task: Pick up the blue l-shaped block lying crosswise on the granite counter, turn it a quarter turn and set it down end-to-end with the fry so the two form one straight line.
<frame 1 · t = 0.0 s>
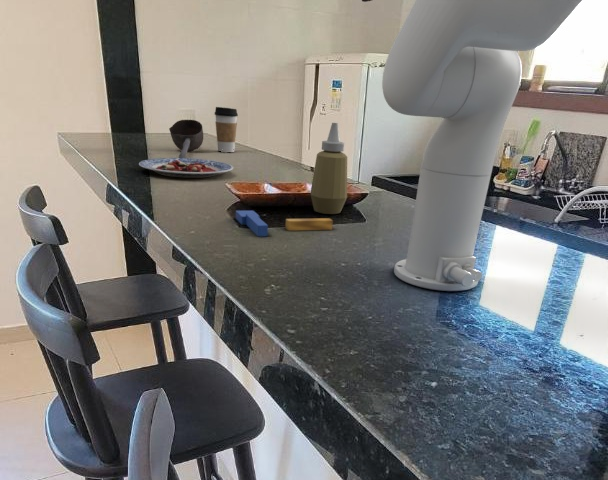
hand: (395, 4, 83), 37 cm above the counter, tool pointing down, fingers open, 9 cm apart
fry: (308, 229, 102), on the counter
blue l-shaped block: (253, 227, 100), on the counter
squeeze bottle: (327, 212, 117), on the counter
ceramic plate: (187, 173, 150), on the counter
coffee cup: (226, 152, 197), on the counter
ladle: (185, 156, 180), on the counter
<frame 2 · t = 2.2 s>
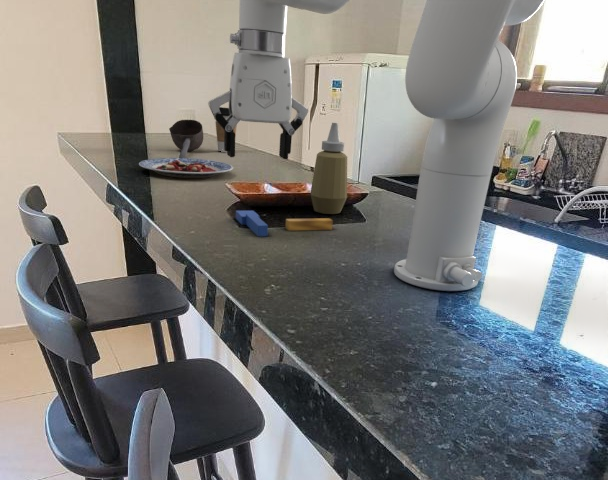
hand: (257, 157, 94), 13 cm above the counter, tool pointing down, fingers open, 9 cm apart
nothing on the counter moved.
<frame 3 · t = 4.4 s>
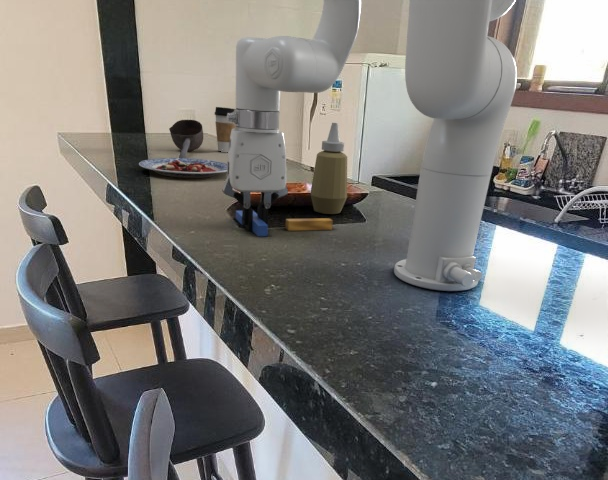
hand: (254, 227, 100), 0 cm above the counter, tool pointing down, fingers closed on blue l-shaped block, 1 cm apart
blue l-shaped block: (253, 227, 100), on the counter, touching gripper
everything else where it was.
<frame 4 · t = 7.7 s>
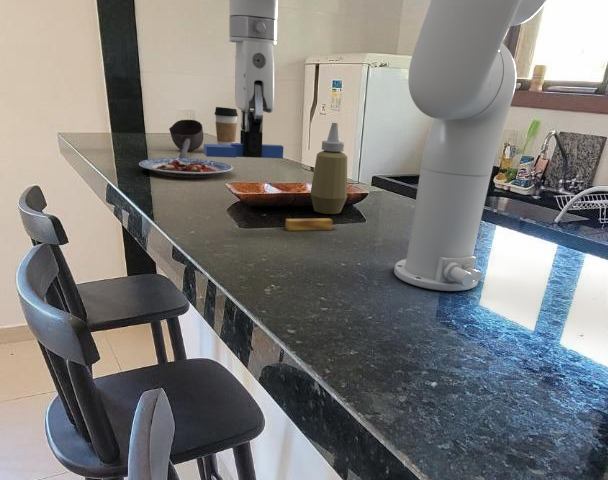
hand: (250, 155, 92), 13 cm above the counter, tool pointing down, fingers closed on blue l-shaped block
blue l-shaped block: (245, 156, 92), point 13 cm above the counter, touching gripper
everything else where it was.
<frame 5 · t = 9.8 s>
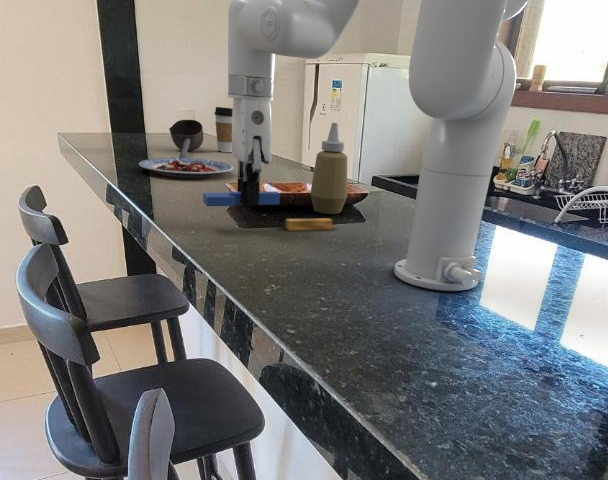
hand: (247, 202, 96), 5 cm above the counter, tool pointing down, fingers closed on blue l-shaped block
blue l-shaped block: (243, 203, 96), point 5 cm above the counter, touching gripper
everything else where it was.
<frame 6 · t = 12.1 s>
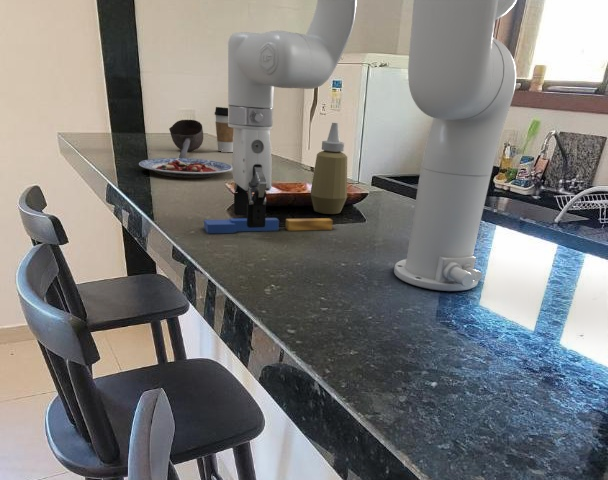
hand: (249, 220, 97), 2 cm above the counter, tool pointing down, fingers open, 9 cm apart
blue l-shaped block: (243, 230, 98), on the counter
everything else where it was.
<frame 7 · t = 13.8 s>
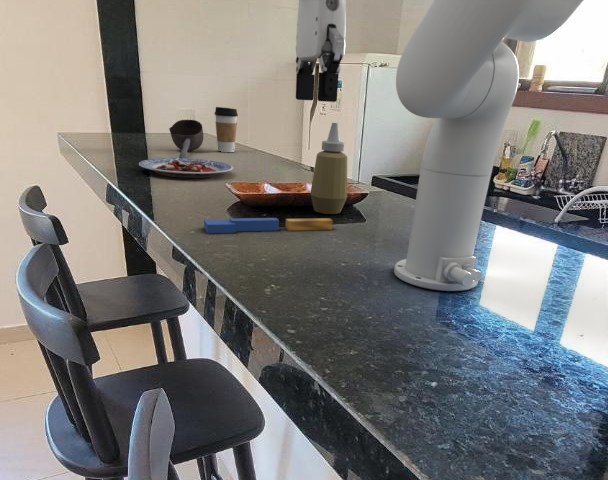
hand: (315, 100, 89), 22 cm above the counter, tool pointing down, fingers open, 9 cm apart
nothing on the counter moved.
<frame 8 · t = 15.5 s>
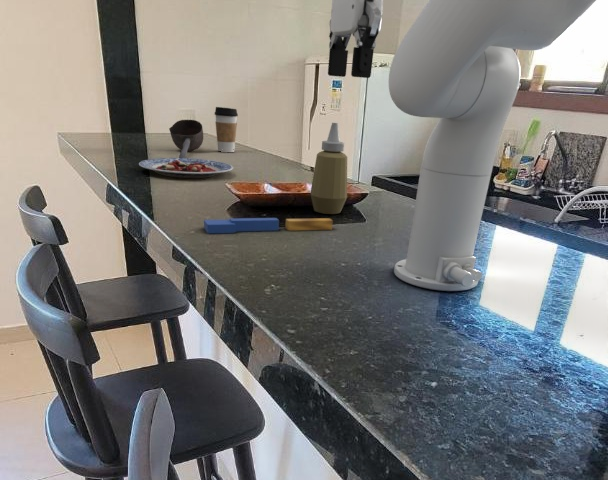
hand: (348, 76, 88), 26 cm above the counter, tool pointing down, fingers open, 9 cm apart
nothing on the counter moved.
at the end: blue l-shaped block 0.1 cm from the target spot on the counter beside the fry, on the counter; blue l-shaped block tilted 0°; fry moved 0.0 cm from its start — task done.
